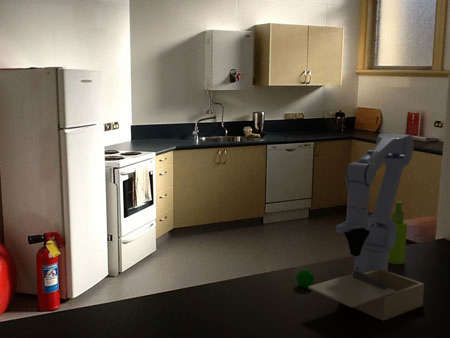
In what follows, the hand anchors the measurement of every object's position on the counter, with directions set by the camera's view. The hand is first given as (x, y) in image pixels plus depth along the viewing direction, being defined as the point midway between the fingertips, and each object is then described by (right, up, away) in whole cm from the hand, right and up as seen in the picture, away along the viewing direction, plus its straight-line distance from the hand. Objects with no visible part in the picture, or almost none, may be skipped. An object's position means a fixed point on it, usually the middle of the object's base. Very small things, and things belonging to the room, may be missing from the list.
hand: (355, 255), depth 147 cm
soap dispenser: (+20, -7, +29) cm, 36 cm away
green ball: (-13, -10, +5) cm, 17 cm away
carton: (+5, -12, -7) cm, 14 cm away
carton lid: (-4, -6, -15) cm, 17 cm away
